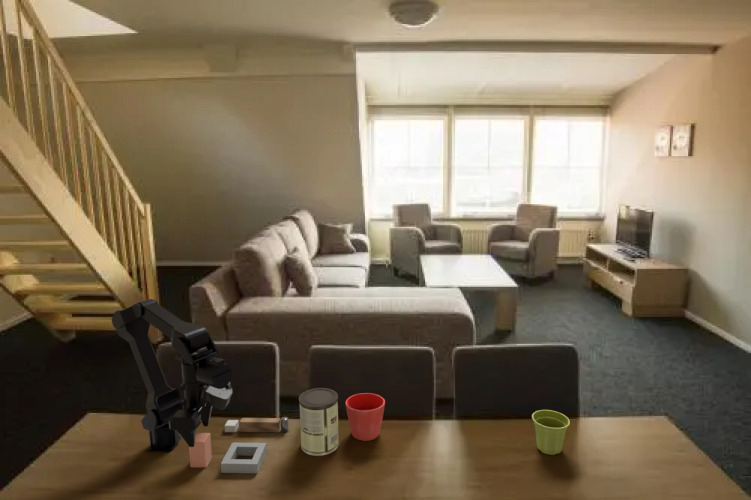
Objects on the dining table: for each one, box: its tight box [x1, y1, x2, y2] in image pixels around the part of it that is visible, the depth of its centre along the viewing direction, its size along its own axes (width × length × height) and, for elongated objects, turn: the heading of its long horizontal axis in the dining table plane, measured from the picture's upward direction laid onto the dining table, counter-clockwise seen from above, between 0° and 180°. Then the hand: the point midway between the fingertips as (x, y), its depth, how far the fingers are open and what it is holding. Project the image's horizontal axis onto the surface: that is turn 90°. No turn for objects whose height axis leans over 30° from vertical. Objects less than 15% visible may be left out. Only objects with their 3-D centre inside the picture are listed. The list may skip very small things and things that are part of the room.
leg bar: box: [239, 417, 281, 433], centre depth 139 cm, size 11×2×3 cm, turn 89°
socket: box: [220, 442, 268, 474], centre depth 124 cm, size 9×9×2 cm
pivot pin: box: [280, 416, 290, 433], centre depth 138 cm, size 2×2×4 cm
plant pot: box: [531, 409, 571, 456], centre depth 129 cm, size 9×9×9 cm
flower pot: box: [344, 392, 386, 442], centre depth 136 cm, size 11×11×10 cm
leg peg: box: [188, 432, 213, 468], centre depth 123 cm, size 4×4×7 cm
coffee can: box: [298, 387, 340, 457], centre depth 130 cm, size 10×10×14 cm
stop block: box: [224, 419, 240, 433], centre depth 139 cm, size 3×3×2 cm
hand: (199, 436), depth 123 cm, fingers open, 9 cm apart
